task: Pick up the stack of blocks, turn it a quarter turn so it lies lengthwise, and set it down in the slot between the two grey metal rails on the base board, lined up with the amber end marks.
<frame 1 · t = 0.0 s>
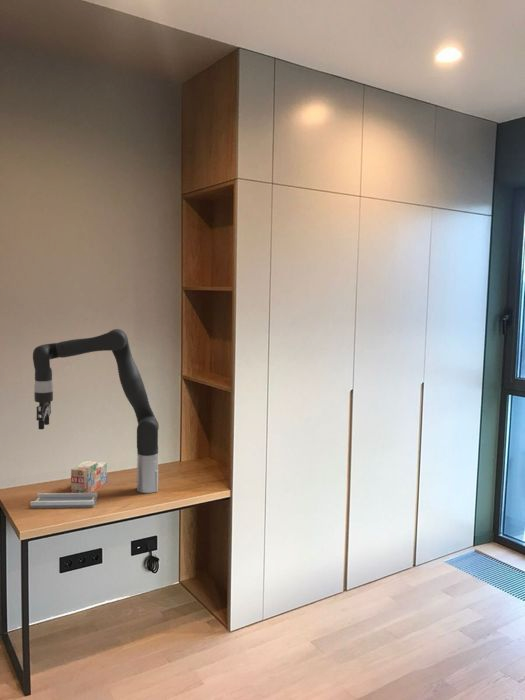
hand: (44, 426, 248), 29 cm above the table, tool pointing down, fingers open, 8 cm apart
stack of blocks: (89, 489, 256), on the table
base board: (64, 503, 238), on the table
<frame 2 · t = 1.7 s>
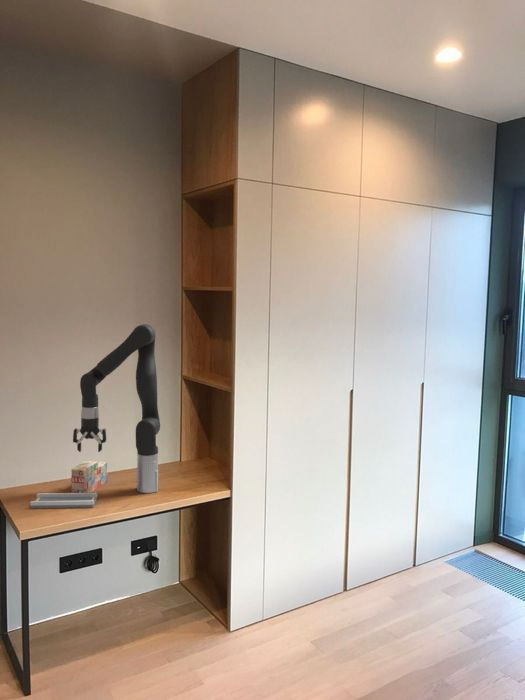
hand: (89, 451, 255), 17 cm above the table, tool pointing down, fingers open, 8 cm apart
nothing on the table moved.
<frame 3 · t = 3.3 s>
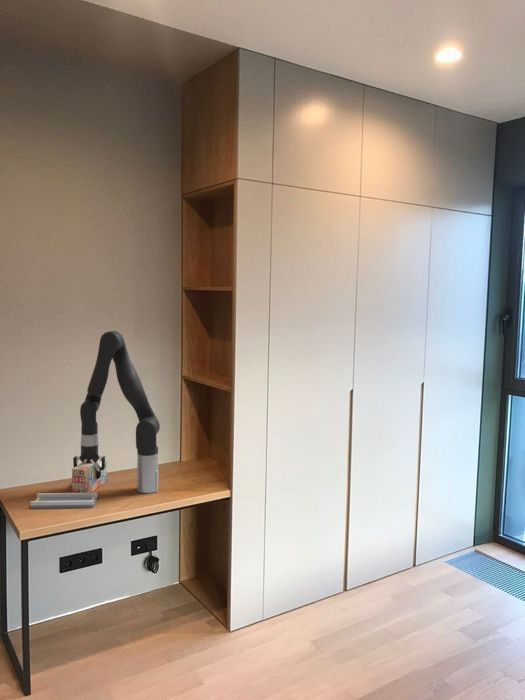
hand: (89, 478, 256), 4 cm above the table, tool pointing down, fingers closed on stack of blocks, 7 cm apart
stack of blocks: (90, 488, 257), on the table, touching gripper
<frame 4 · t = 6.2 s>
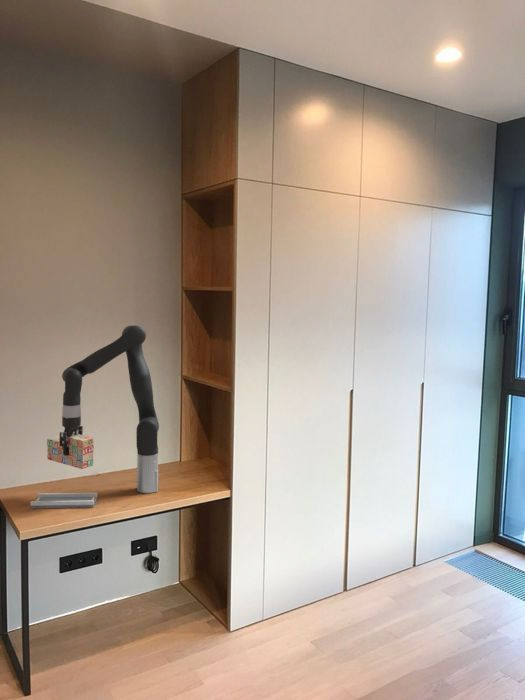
hand: (71, 452, 241), 20 cm above the table, tool pointing down, fingers closed on stack of blocks, 7 cm apart
stack of blocks: (70, 463, 242), point 16 cm above the table, touching gripper
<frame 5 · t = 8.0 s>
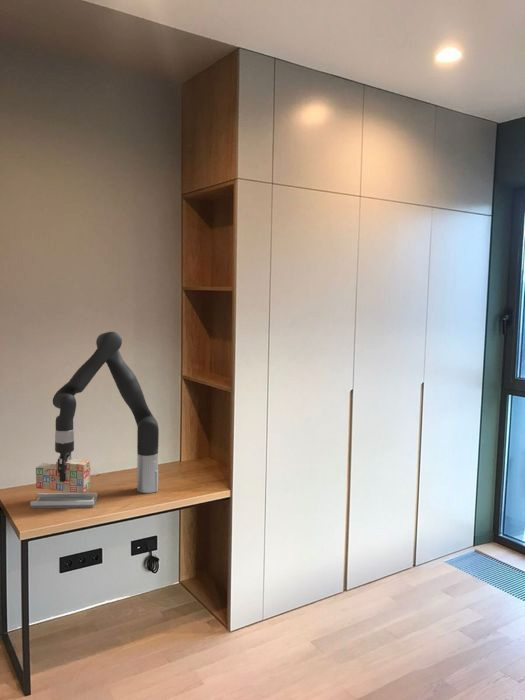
hand: (64, 478, 237), 11 cm above the table, tool pointing down, fingers closed on stack of blocks, 7 cm apart
stack of blocks: (63, 488, 237), point 6 cm above the table, touching gripper
when the fingers open (7 cm above the table, at t = 9.4 s): stack of blocks stays where it is, resting on base board.
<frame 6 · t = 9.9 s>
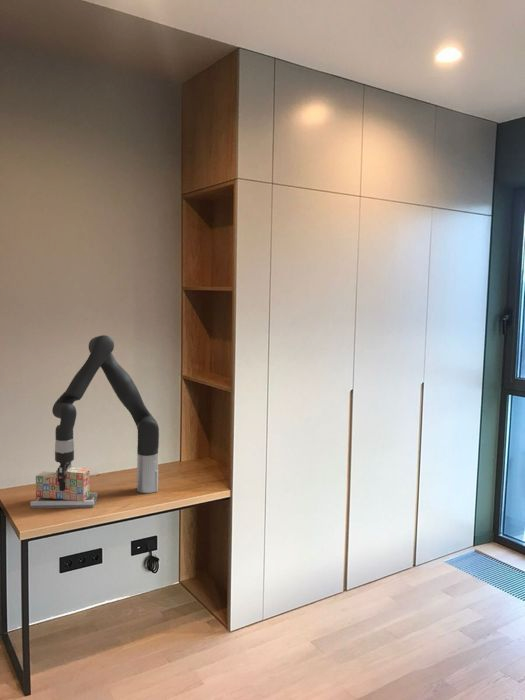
hand: (64, 487, 237), 7 cm above the table, tool pointing down, fingers open, 8 cm apart
stack of blocks: (63, 497, 238), point 3 cm above the table, touching base board
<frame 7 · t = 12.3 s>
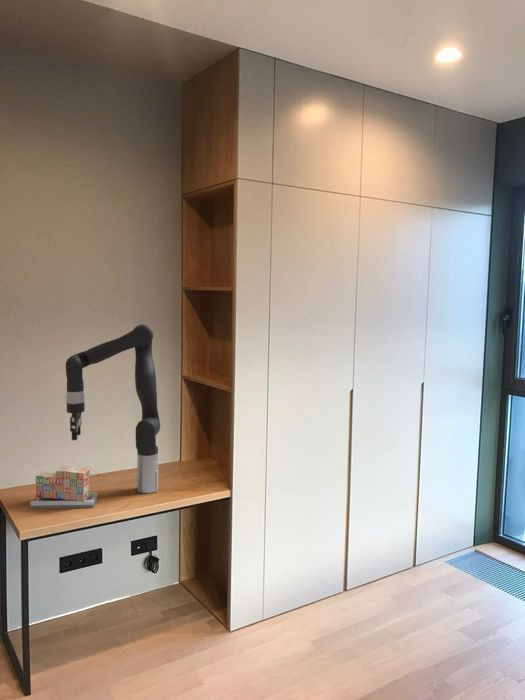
hand: (76, 437, 247), 25 cm above the table, tool pointing down, fingers open, 8 cm apart
nothing on the table moved.
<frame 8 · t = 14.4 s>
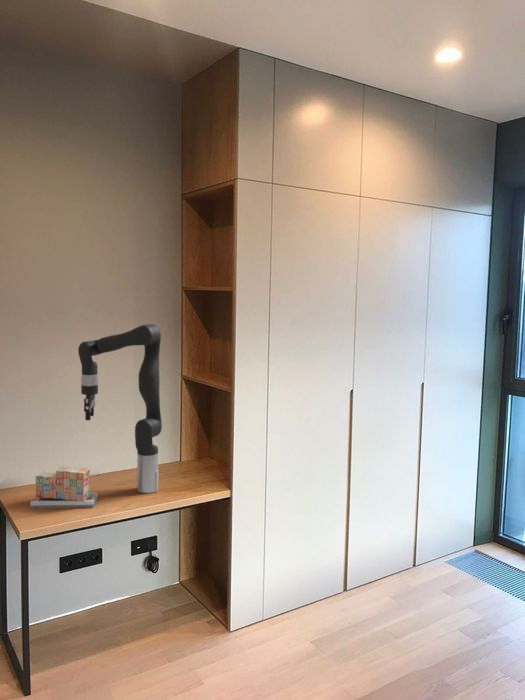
hand: (89, 417, 264), 30 cm above the table, tool pointing down, fingers open, 8 cm apart
nothing on the table moved.
at the end: stack of blocks 0.8 cm off-centre on the base board, point 2.5 cm above the base board's base; stack of blocks tilted 0°; the gripper is holding nothing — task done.
